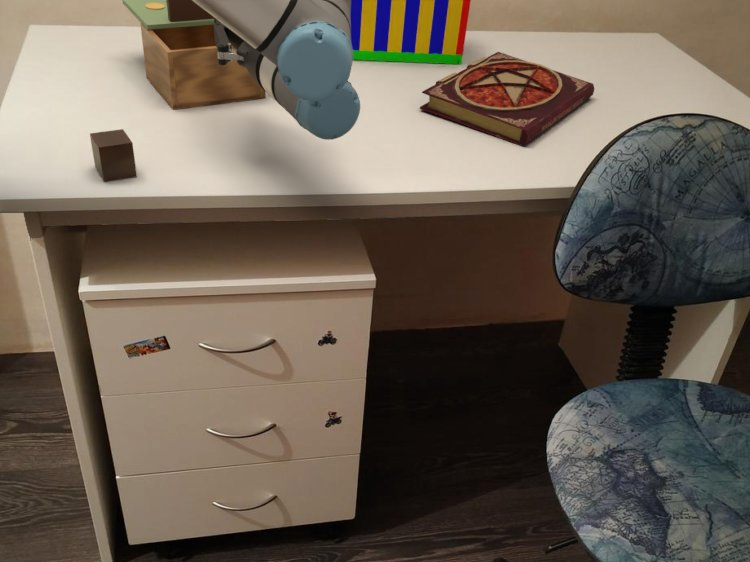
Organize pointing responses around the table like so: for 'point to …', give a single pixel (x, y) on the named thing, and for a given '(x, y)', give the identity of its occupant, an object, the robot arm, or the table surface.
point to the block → (113, 155)
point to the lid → (168, 13)
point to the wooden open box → (193, 68)
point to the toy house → (409, 30)
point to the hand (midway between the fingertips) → (218, 14)
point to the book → (507, 97)
